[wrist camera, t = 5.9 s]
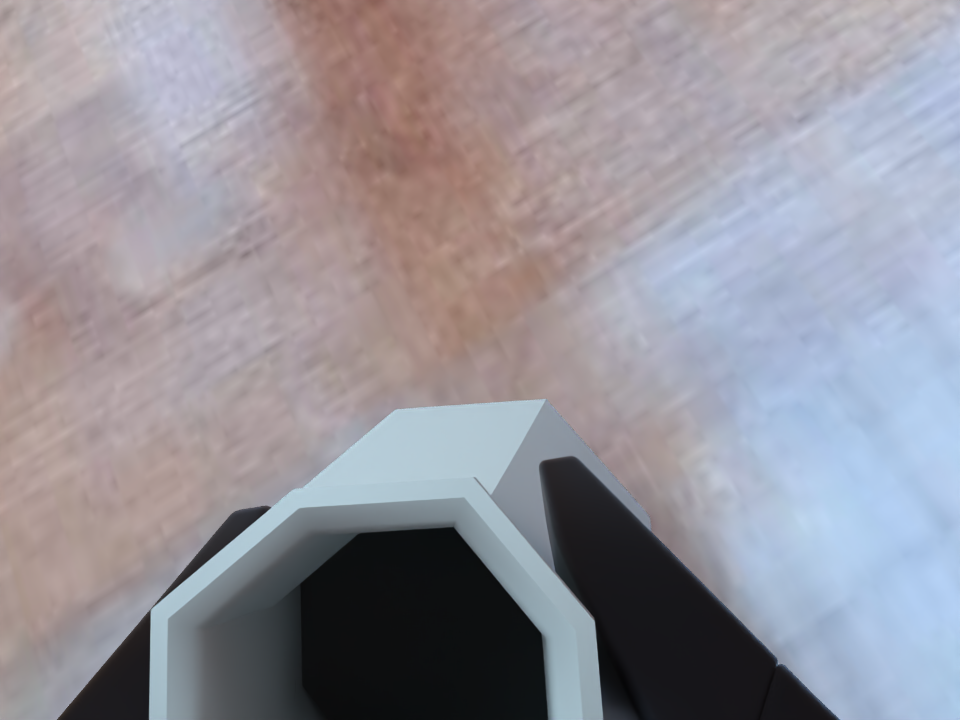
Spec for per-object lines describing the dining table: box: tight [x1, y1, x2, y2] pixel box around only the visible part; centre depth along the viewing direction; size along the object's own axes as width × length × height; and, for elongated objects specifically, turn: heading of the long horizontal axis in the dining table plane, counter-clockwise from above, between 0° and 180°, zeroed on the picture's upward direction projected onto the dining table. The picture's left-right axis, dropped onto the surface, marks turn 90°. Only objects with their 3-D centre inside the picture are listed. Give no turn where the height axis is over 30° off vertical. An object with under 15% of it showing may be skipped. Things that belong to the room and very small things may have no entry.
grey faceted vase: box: [149, 399, 651, 720], centre depth 10 cm, size 7×7×10 cm
